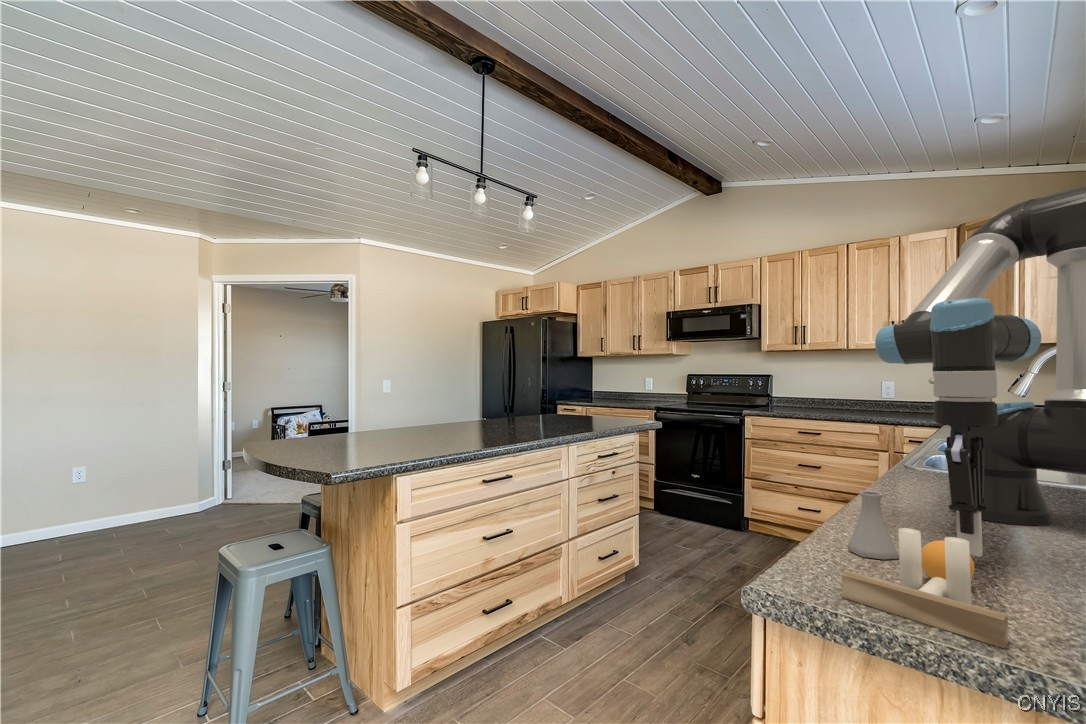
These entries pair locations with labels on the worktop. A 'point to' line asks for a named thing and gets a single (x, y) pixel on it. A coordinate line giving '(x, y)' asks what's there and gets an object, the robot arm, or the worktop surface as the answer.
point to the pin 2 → (958, 569)
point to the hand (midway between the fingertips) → (970, 553)
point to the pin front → (935, 587)
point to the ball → (937, 560)
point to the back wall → (927, 608)
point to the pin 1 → (910, 558)
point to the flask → (872, 530)
